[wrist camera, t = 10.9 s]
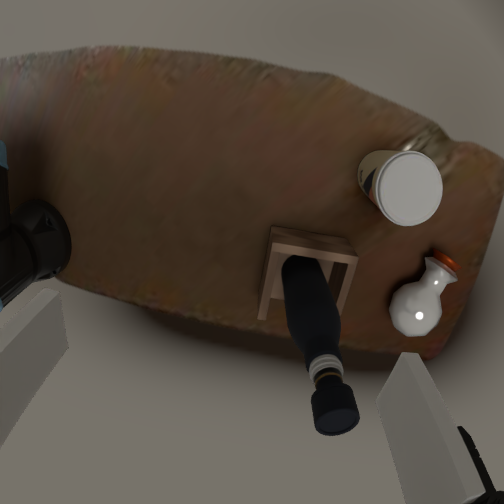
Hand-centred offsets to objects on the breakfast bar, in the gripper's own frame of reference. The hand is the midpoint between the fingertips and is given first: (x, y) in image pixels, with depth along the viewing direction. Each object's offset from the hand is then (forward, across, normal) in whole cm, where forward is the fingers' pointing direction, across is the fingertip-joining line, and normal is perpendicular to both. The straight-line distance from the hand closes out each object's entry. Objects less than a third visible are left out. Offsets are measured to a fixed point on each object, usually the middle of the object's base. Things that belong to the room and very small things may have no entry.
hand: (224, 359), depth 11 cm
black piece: (+38, +10, -12) cm, 41 cm away
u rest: (+38, +10, -12) cm, 42 cm away
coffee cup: (+39, +19, +5) cm, 43 cm away
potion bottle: (+39, +31, -11) cm, 51 cm away
